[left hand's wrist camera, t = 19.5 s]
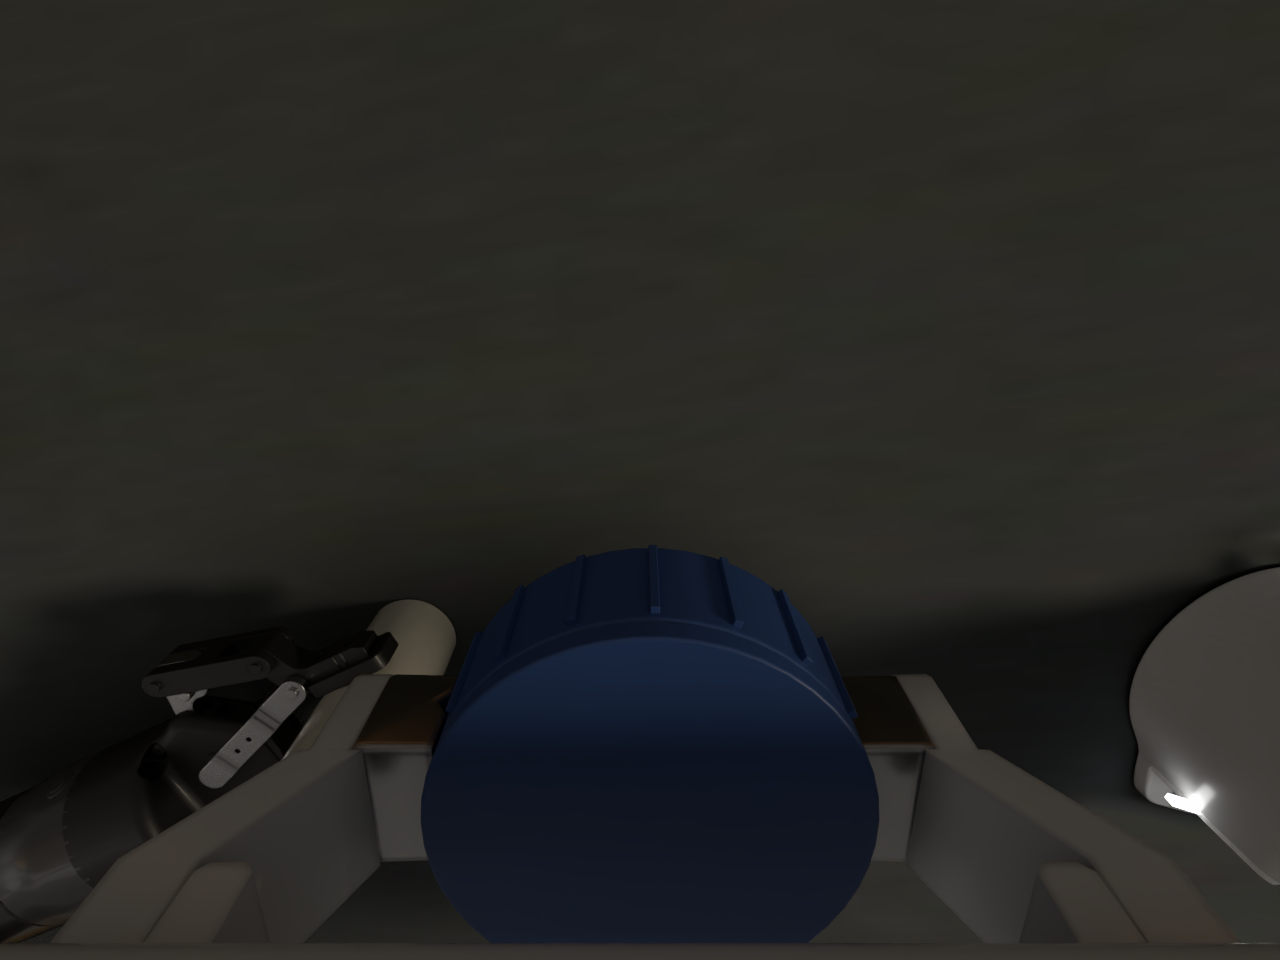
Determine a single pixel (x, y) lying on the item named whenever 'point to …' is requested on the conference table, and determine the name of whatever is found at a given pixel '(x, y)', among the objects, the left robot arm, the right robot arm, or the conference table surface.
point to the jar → (395, 655)
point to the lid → (649, 763)
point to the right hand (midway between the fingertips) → (420, 693)
